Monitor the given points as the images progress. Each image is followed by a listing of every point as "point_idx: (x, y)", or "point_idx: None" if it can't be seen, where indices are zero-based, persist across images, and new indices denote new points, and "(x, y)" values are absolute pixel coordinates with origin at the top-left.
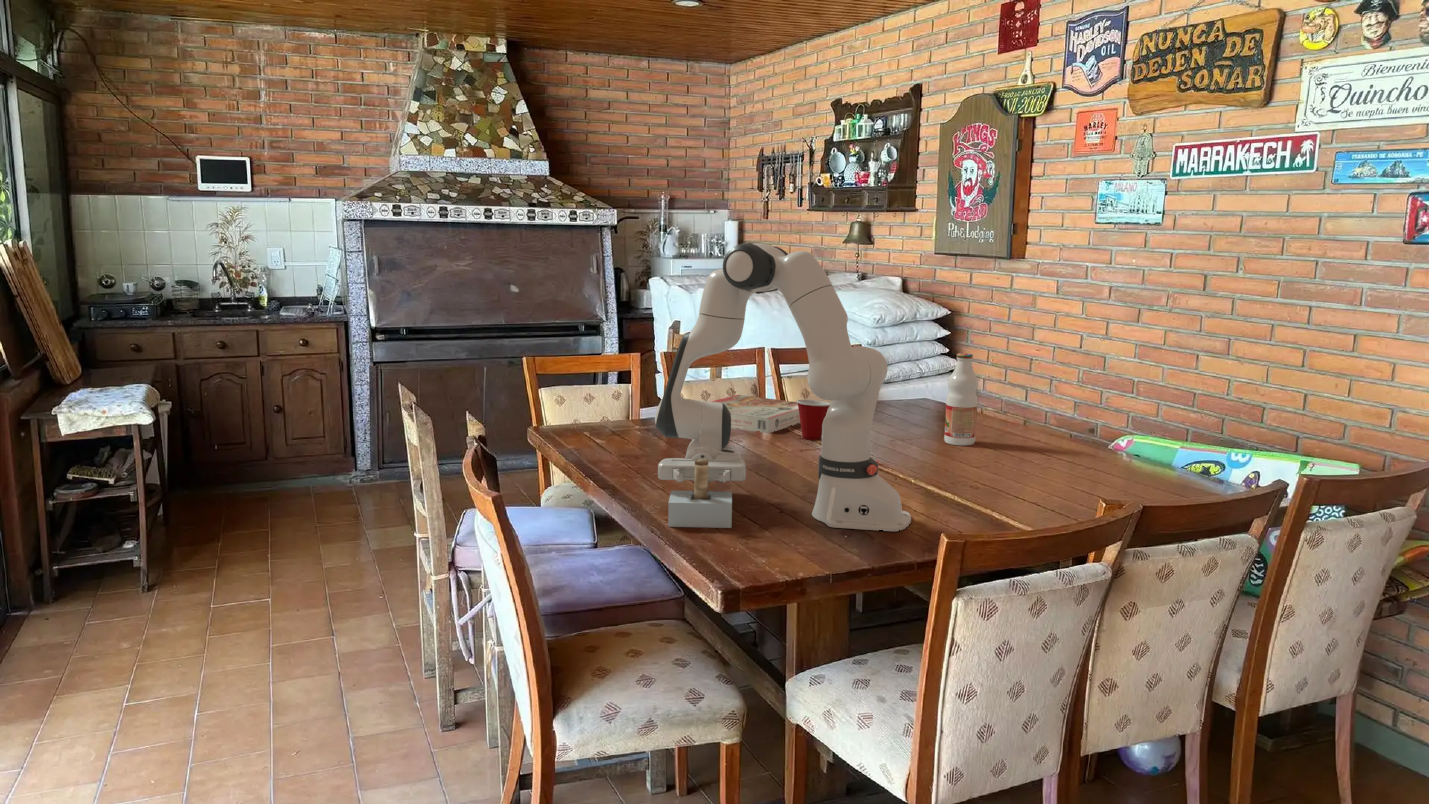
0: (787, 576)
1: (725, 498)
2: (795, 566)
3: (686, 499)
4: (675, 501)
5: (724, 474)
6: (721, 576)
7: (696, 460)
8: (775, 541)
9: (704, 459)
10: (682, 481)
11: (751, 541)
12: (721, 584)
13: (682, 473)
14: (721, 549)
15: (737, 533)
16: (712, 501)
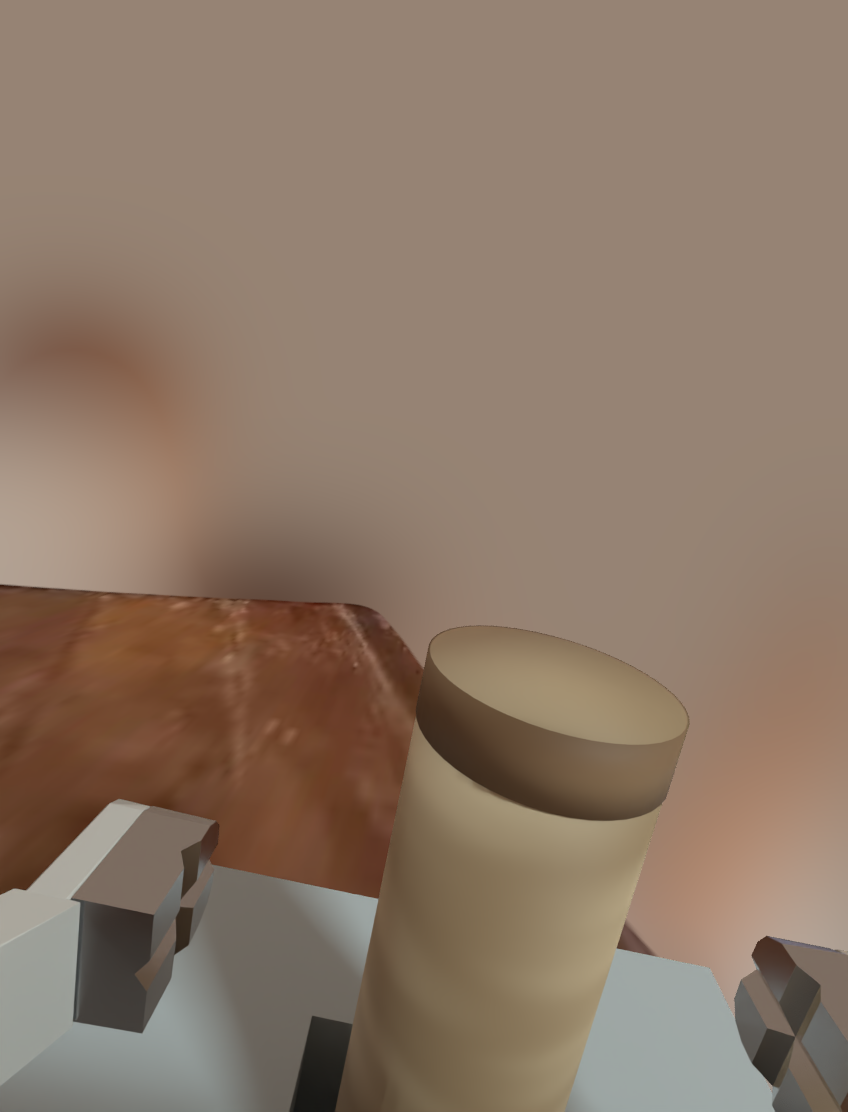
0: (220, 606)
1: (94, 1063)
2: (160, 625)
3: (585, 1073)
4: (667, 1000)
5: (110, 818)
6: (370, 633)
7: (631, 675)
8: (43, 760)
9: (506, 685)
10: (744, 1021)
11: (161, 779)
12: (376, 617)
13: (822, 984)
14: (330, 738)
15: None
16: (305, 949)
